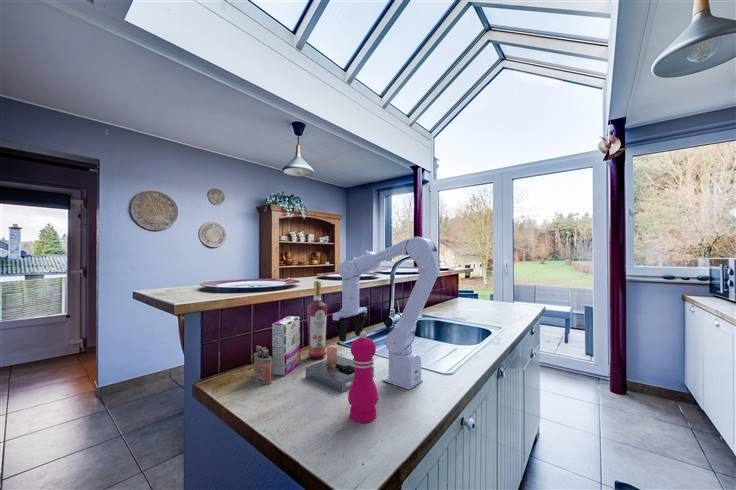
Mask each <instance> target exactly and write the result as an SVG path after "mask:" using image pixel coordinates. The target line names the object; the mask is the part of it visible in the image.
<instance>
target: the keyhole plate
mask: <svg viewBox="0 0 736 490" xmlns="http://www.w3.org/2000/svg"><path fill="white" fill-rule="evenodd" d="M336 368H338V369H339V368H340V369H343V370H346V371H349V372H352V373H350V374H345V373H343V372H340V371H339V372H338V369H336ZM354 374H355V366H354V365H353V359H350V358H347V357H344V356H340V355H337V363H336V364H335V368H333V367H330V366H329V364H327V359H325V360H322V361H320V362H316V363H314V364H311V365H308V366H305V378H307V379H309V380H311V381H314V382H316V383H319V384H321V385H323V386H326V387H328V388H331V389H333V390H335V391H337V392H339V393H344V392H347V384H348V383H350V382H353V379H354ZM374 374H375V366H374V365H373V366H372V377H373V378H374V377H375V375H374Z"/></svg>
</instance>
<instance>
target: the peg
mask: <svg viewBox="0 0 736 490" xmlns="http://www.w3.org/2000/svg"><path fill="white" fill-rule="evenodd" d="M337 356H338V345H334V344H332V345H327V346H326V360H327V364H329V366H330V367H333V368H336V369H338V372H340V369H339V367H336V366H335V364H336V363H337Z"/></svg>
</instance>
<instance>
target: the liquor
mask: <svg viewBox="0 0 736 490" xmlns="http://www.w3.org/2000/svg"><path fill="white" fill-rule="evenodd" d="M321 287H322V281H321V280H314V281H313V298H312V299H313V300H312V302H311V303H309V304H308V305H307V328H308V329H307V330H308V352H307V355H308V357H310V358H311V359H313V360H320V359H323V358H324V357H325V356H326V355H327V350H326V337H327V336H326V335H327V319H328V318H327V317H328V316H327V315H328V305H327V304H326V303H325V302H322V295H321V294H322V293H321V289H322V288H321Z"/></svg>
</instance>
